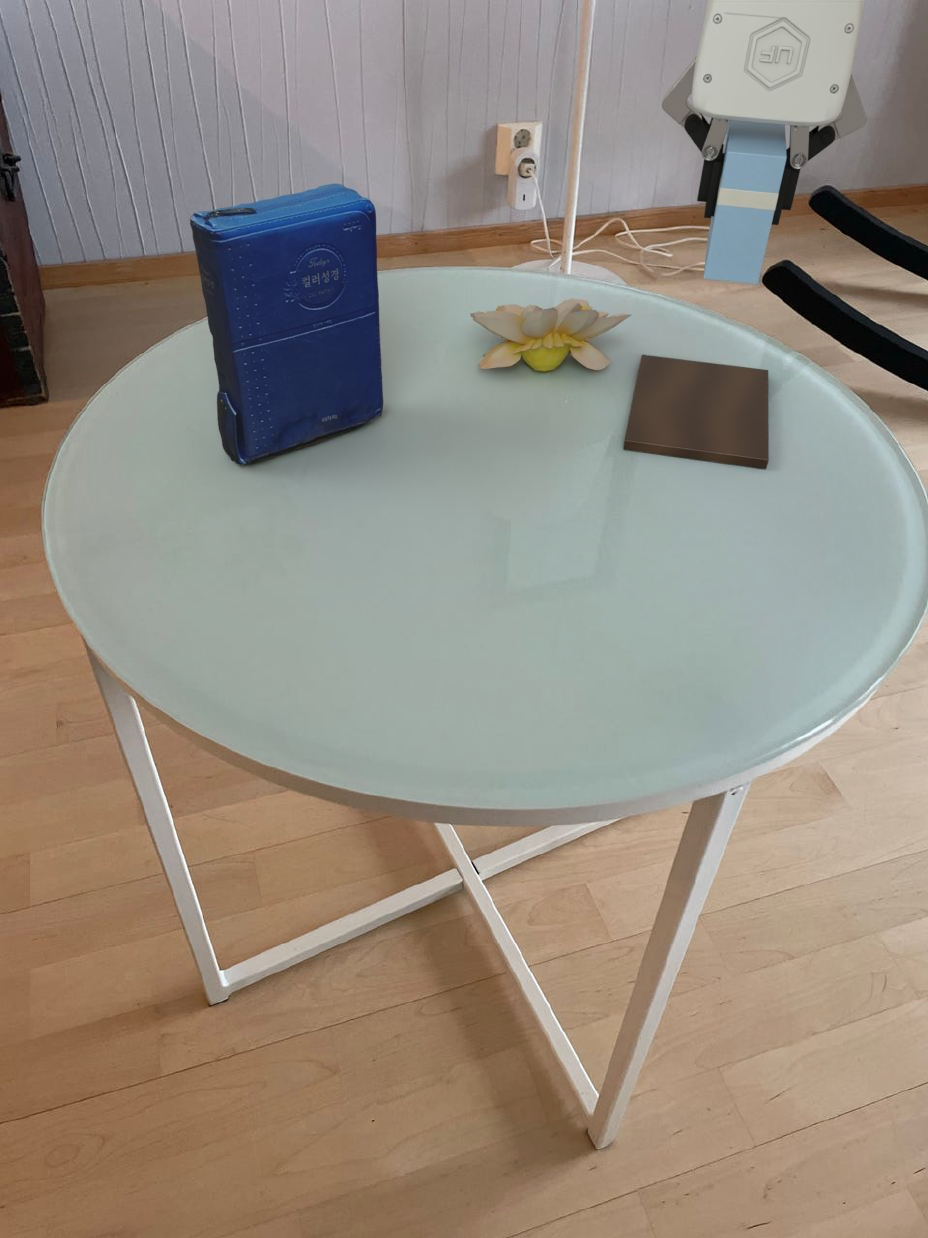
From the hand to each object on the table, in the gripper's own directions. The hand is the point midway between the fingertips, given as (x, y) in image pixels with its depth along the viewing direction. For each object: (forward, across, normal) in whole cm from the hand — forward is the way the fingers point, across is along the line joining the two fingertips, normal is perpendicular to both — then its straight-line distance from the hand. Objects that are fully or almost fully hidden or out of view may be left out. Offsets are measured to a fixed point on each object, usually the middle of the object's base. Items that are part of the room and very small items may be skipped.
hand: (741, 212), depth 74 cm
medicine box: (+4, 0, 0) cm, 4 cm away
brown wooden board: (+19, 0, +4) cm, 20 cm away
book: (+20, -33, -9) cm, 39 cm away
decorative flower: (+20, -15, +10) cm, 27 cm away
